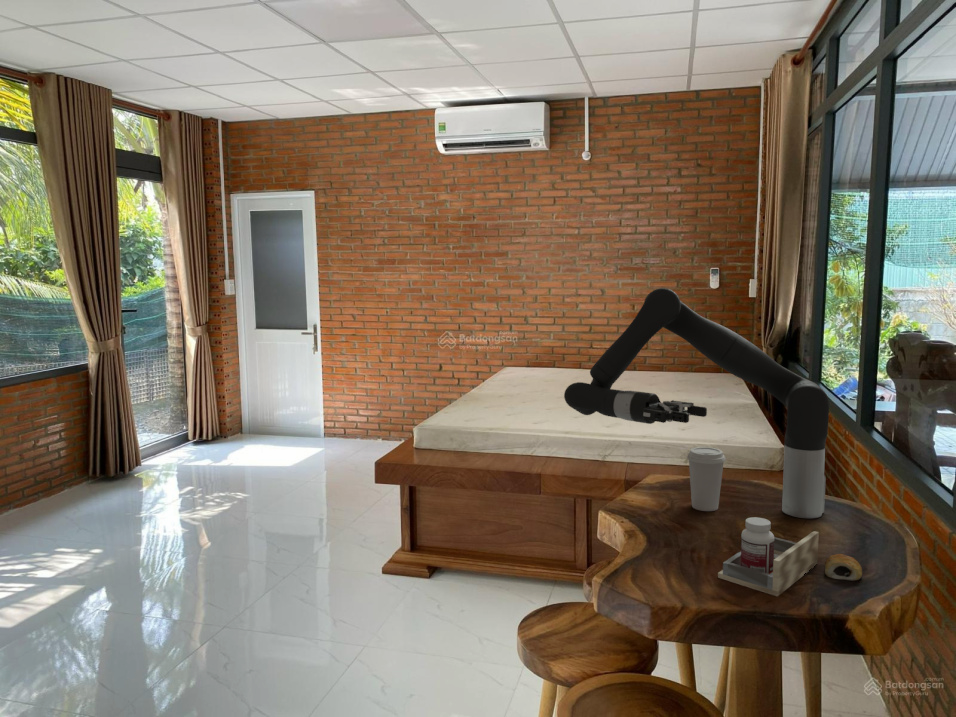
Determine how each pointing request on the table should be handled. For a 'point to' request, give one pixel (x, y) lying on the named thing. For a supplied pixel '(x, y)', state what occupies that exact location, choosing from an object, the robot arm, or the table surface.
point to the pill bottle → (757, 545)
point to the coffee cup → (705, 477)
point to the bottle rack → (776, 566)
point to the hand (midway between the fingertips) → (697, 415)
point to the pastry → (843, 567)
